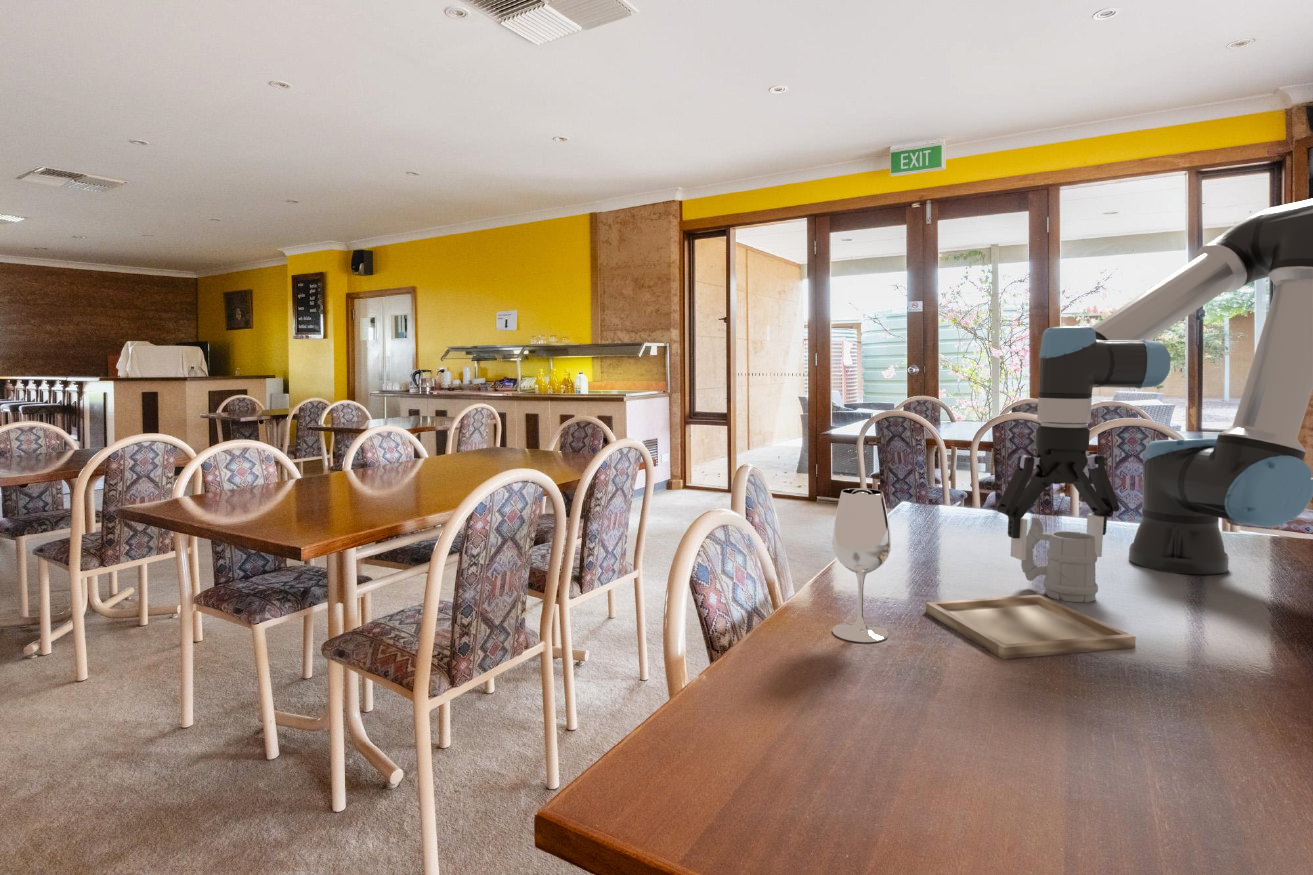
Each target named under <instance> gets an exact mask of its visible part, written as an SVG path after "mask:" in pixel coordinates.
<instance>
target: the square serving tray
mask: <svg viewBox="0 0 1313 875" xmlns="http://www.w3.org/2000/svg"><path fill="white" fill-rule="evenodd" d="M925 613H926V614H928V615H929V616H931V617H932V618H935V619H937V621H940V622H941V623H943V624H944V625H946V626H948V627H950V628H951V629H952V630H955V631H956V632H958V633H959V634H961V635H962V636H964V637H965V638H968V639H969V640H971V641H973V642H974V643H976V644H977V645H979V646H981V647H982V648H984V649H986V650H987V651H989V652H991V653H992V654H994V655H996V656H997V657H999V658H1000V659H1003V660H1008V659H1020V658H1031V657H1043V656H1056V655H1065V654H1066V655H1068V654H1079V653H1090V652H1101V651H1102V652H1103V651H1112V650H1113V651H1114V650H1125V649H1126V650H1127V649H1135V648H1136V640H1137V637H1136V636H1135V635H1133V634H1130V633H1129V632H1127V631H1123V630H1121V629H1120V628H1117V627H1115V626H1113V625H1110V624H1109V623H1105V622H1104V621H1101V620H1098V619H1096V618H1095V617H1092V616H1089V615H1087V614H1085V613H1082V612H1080V611H1078V610H1077V609H1074V608H1071V607H1069V606H1067V605H1065V604H1062V603H1060V602H1057V601H1055V600H1052V599H1050V598H1048V597H1046V596H1044V595H1042V594H1029V595H1014V596H1012V595H1011V596H1001V597H1000V596H999V597H986V598H985V597H984V598H972V599H959V600H958V599H957V600H942V601H930V602H929V601H928V602H925Z"/></svg>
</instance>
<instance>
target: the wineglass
mask: <svg viewBox="0 0 1313 875" xmlns="http://www.w3.org/2000/svg"><path fill="white" fill-rule="evenodd" d="M889 521H890V520H889V516H888V510H887V506H886V500H885V496H884V492H883V491H882V490H879V489H873V488H866V487H865V488H864V487H863V488H861V487H859V488H858V487H857V488H855V487H854V488H853V487H852V488H845V489H842V490H841V491H840V496H839V499H838V504H837V508H836V513H835V519H834V523H833V530H832V541H831V542H832V549H833V553H834V555H835V557H836V559H837V560H838V562H839V563H840V564H841V565H842V566H844V567H845V568H846V569H848V570H849V571H851V572H852V573H855V575H856V578H857V579H856V580H857V597H858V598H857V618H856V620H855V621H854V622H843V623H839V624H836V625H834V626H833V627H832V633H833V635H835V636H836V637H838V638H839V639H842V640H845V641H849V642H856V643H863V644H864V643H877V642H880V641H881V642H882V641H884V640H886V639H887V638H888V637H889V632H888V630H887V629H885V628H884V627H882V626H880V625H876V624H873V623H867V622H866V621H865V618H864V587H865V586H864V585H865V579H866V575H867V574H869V573H872V572H874V571H876V570H877V569H879V568H880V567H881V566H883V565H884V563H885V562H886V560H887V559H888V558H889V555H890V553H891V549H892V547H891V546H892V537H891V527H890V526H891V525H890V522H889Z"/></svg>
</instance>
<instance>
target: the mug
mask: <svg viewBox="0 0 1313 875" xmlns="http://www.w3.org/2000/svg"><path fill="white" fill-rule="evenodd" d="M1027 532H1028V533H1027V539H1026V559H1025V560H1021V563H1020V565H1021V570H1022V573H1024V576H1025V578H1026V580H1027V581H1028V582H1031V581H1032V582H1033V580H1035V579H1036V578H1037V577H1039V576H1043V575H1045V576H1046V577H1045V578H1044V580H1043V587H1044V588H1045V594H1046V595H1047V596H1048V597H1050V598H1052V599H1055V600H1058V601H1059V600H1061V601H1064V602H1068V603H1069V602H1070V603H1083V602H1084V603H1091V602H1093V601H1095V600H1096V594H1097V593H1098V591H1099V585H1098V584H1097V582H1096V563H1097V562H1098V557H1097V555H1096V553H1095V537H1094V536H1092V535H1090V534H1086V533H1087V532H1080V531H1070V530H1069V531H1068V530H1062V531H1059V530H1056V531H1052V532H1051V533H1049V532H1044V525H1043V523H1042V521H1041V519H1040V518H1039V517H1038V516H1032V517H1031V524H1030V527H1029V529H1028V531H1027ZM1042 540H1043V541H1046V542H1047V541H1048V542H1049V544H1048V549H1047V550H1046V557H1047V564H1042V565H1039V564H1038V563H1037V562H1036V560H1035V559H1034V549H1035V547H1036V545H1038V543H1039V542H1041V541H1042Z"/></svg>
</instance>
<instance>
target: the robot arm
mask: <svg viewBox="0 0 1313 875" xmlns="http://www.w3.org/2000/svg"><path fill="white" fill-rule="evenodd" d="M1265 278H1268V279H1270V280H1271V282H1272V283H1273V285H1274V286H1275V289H1274V291H1273V295H1272V299H1271V302H1270V305H1269V308H1268V310H1267V314H1266V317H1265V321H1264V323H1263V327H1262V330H1261V334H1260V337H1259V341H1258V343H1257V346H1256V350H1255V353H1254V356H1253V359H1252V363H1251V365H1250V369H1249V372H1248V375H1247V379H1246V380H1245V381H1246V382H1245V385H1244V388H1243V392H1242V394H1241V398H1240V401H1239V404H1238V406H1237V407H1238V408H1237V411H1236V414H1235V417H1234V420H1233V424H1232V426H1231V427H1230V428H1227V429H1225V430H1224V431H1222V432H1221V431H1220V432H1219V433H1218V435H1217V438H1191V439H1190V438H1188V439H1186V438H1185V439H1161V440H1153V441H1150V442H1149V443H1148V444H1147V445H1146V447H1145V451H1144V458H1143V460H1142V463H1143V470H1142V472H1143V475H1142V477H1143V478H1142V503H1141V505H1142V506H1141V507H1142V508H1141V509H1142V510H1141V519H1140V523H1139V525H1138V528H1137V530H1136V533H1135V535H1134V539H1133V542H1132V543H1131V544H1130V546H1129V548H1128V549H1129V550H1128V560H1129V561H1130V562H1131V563H1133V564H1135V565H1137V566H1138V565H1139V566H1141V567H1145V568H1148V569H1153V570H1157V571H1162V572H1169V573H1175V574H1176V573H1178V574H1185V575H1219V574H1224V573H1226V572H1228V571H1229V564H1230V563H1229V562H1230V561H1229V555H1228V553H1227V552H1225V546H1224V541H1223V537H1222V534H1221V531H1220V527H1219V522H1220V521H1219V520H1220V519H1222V520H1223V519H1224V520H1228V521H1232V522H1235V523H1238V524H1242V525H1245V526H1255V527H1256V526H1257V527H1262V528H1272V527H1273V528H1274V527H1280V526H1283V525H1285V524H1287V523H1288V522H1290V521H1293V520H1295V519H1297V518H1298V517H1299V516H1301V514H1302V513H1303V512H1304V511H1305V510H1306V509H1307V507H1309V505H1310V504H1311V501H1312V498H1313V477H1312V475H1313V471H1312V469H1311V467H1310V466H1309V465H1308V464H1307V463H1306V462H1304V459H1305V455H1306V452H1307V450H1306V449H1305V447H1304V446H1303V445H1302V444H1301V442H1299V439H1298V437H1299V434H1300V432H1301V428H1302V424H1303V422H1304V418H1305V415H1306V412H1307V409H1308V406H1309V403H1310V399H1311V396H1312V394H1313V198H1309V199H1305V200H1300V201H1296V202H1291V203H1290V202H1289V203H1286V204H1281V205H1276V206H1271V207H1269V208H1266V209H1264V210H1260V211H1259V212H1257V213H1255V214H1253V215H1251V216H1249V217H1247V218H1245V219H1244V220H1242V221H1240V222H1238V224H1235V225H1234V226H1232V227H1231V228H1229V229H1227V230H1226V231H1224V232H1223V233H1221V234H1220V235H1218V236H1217V237H1215V238H1213V239H1212V240H1210V241H1209V242H1208V243H1206V244H1204V245H1203V246H1201V247H1200V248H1199V249H1198V250H1197V251H1196V253H1195V256H1194V258H1193V259H1192V260H1191V261H1189V262H1188V263H1187V264H1185V265H1183V266H1182V267H1180V268H1179V269H1177V270H1175V271H1174V272H1173V273H1172V274H1170V275H1168V276H1167V277H1165V278H1163V279H1162V280H1161V281H1159V282H1158V283H1156V284H1155V285H1153V286H1151V287H1150V288H1148V289H1147V290H1146V291H1144V292H1142V293H1141V294H1140V295H1138V296H1136V297H1135V298H1134V299H1132V300H1131V301H1129V302H1127V303H1126V304H1124V305H1122V307H1120V308H1119V309H1117V310H1115V311H1114V312H1112V313H1111V314H1109V315H1108V316H1106V317H1105V318H1103V319H1102V320H1101V321H1099V322H1097V323H1096V324H1094V325H1092V326H1079V325H1078V326H1054V327H1048V328H1046V329H1045V330H1044V331H1043V332H1042V336H1041V341H1040V349H1039V354H1038V357H1039V364H1038V366H1039V371H1038V395H1037V396H1038V399H1037V400H1038V401H1037V412H1036V413H1037V415H1036V416H1037V417H1036V418H1037V419H1036V421H1037V422H1038V423H1040V425H1038V426H1037V427H1036V434H1035V447H1036V449H1037V454H1036V456H1030V455H1024V454H1020V455H1018V457H1017V463H1016V469H1015V471H1014V472H1013V474H1012V476H1011V479H1010V480H1009V482H1008V485H1007V487H1006V489H1005V491H1004V492H1003V495H1002V497H1001V498H1000V501H999V502H998V504H997V507H996V511H997V512H998V513H1000V514H1004V515H1006V517H1007V518H1008V521H1007V522H1008V523H1007V536H1008V537H1009V538H1011V541H1010V557H1012V558H1014V559H1017V560H1019V561H1022V560H1025V559H1026V539H1027V535H1028V533H1027V532H1028V518H1024V516H1025V514H1026V513H1027V512H1028V511H1029V510H1030V508H1032V506H1033V505H1034V504H1035V502H1036V501H1037V500H1038V499H1039V497H1041V495H1042V494H1043V492H1044V491H1045V490H1046V489H1047V488H1049V487H1050V486H1051V485H1052V484H1054V485H1062V484H1068V485H1069V484H1070V485H1073V487H1074V488H1075V489H1076V491H1077V492H1078V494H1079V495H1080V496H1081V497H1082V499H1083V500H1084V502H1085V503H1086V505H1087V506H1088V508H1089V509H1090V510H1091V512H1092V513H1087V517H1086V518H1087V520H1086V532H1085V533H1086V534H1090V535H1092V536H1094V537H1095V553H1096V555H1097V558H1099V557H1100V558H1102V557H1103V556H1102V554H1103V537H1104V536H1105V535H1106V534H1107V524H1108V522H1107V521H1108V518H1112V517H1113V515H1114V512H1116V513H1117V512H1119V510H1120V509H1121V508H1120V504H1119V501H1118V499H1117V496H1116V494H1115V491H1114V489H1113V486H1112V484H1111V481H1110V479H1109V478H1110V477H1109V476H1108V474H1107V470H1106V463H1105V456H1104V455H1102V454H1096V453H1095V454H1094V453H1089V454H1087V450H1089V448H1090V438H1091V437H1090V432H1091V430H1090V428H1089V427H1087V425H1089V424H1090V423H1091V421H1092V419H1091V418H1092V402H1093V399H1092V398H1093V389H1094V388H1117V389H1118V388H1121V389H1123V388H1125V389H1126V388H1128V389H1129V388H1130V389H1131V388H1132V389H1133V388H1134V389H1140V390H1141V389H1142V388H1155V387H1157V386H1159V385H1160V384H1162V383H1163V382H1165V380H1166V379H1167V377H1168V376H1169V373H1170V370H1171V362H1172V361H1171V360H1172V359H1171V354H1170V352H1169V350H1168V348H1167V347H1166V345H1164V344H1163V343H1161V342H1160V341H1157V340H1152V339H1154V338H1156V337H1158V336H1159V335H1160V334H1163V333H1164V332H1165V331H1167V330H1169V328H1172V326H1173V327H1174V325H1175V324H1177V323H1179V322H1181V321H1182V320H1183V319H1185V318H1186V317H1188V316H1190V315H1191V314H1193V313H1194V312H1196V311H1197V310H1198V309H1200V308H1201V307H1203V306H1205V305H1206V304H1208V303H1210V302H1211V301H1213V299H1215V298H1216V297H1218V296H1220V295H1222V294H1223V293H1233V292H1234V293H1235V292H1237V291H1238V290H1240V289H1241V288H1243V287H1245V286H1246V285H1248V284H1251V283H1252V282H1255V281H1258V280H1261V279H1265ZM1086 468H1087V471H1088V475H1089V476H1090V478H1089V477H1088V476H1087V474H1086V473H1085V471H1084V470H1085V469H1086ZM1036 469H1037V470H1036ZM1034 470H1036V471H1035V472H1034V474H1033V471H1034ZM1032 474H1033V475H1032ZM1090 479H1091V481H1092V484H1093V486H1092V484H1091V482H1090ZM1029 481H1030V482H1029ZM1219 518H1220V519H1219Z"/></svg>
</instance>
